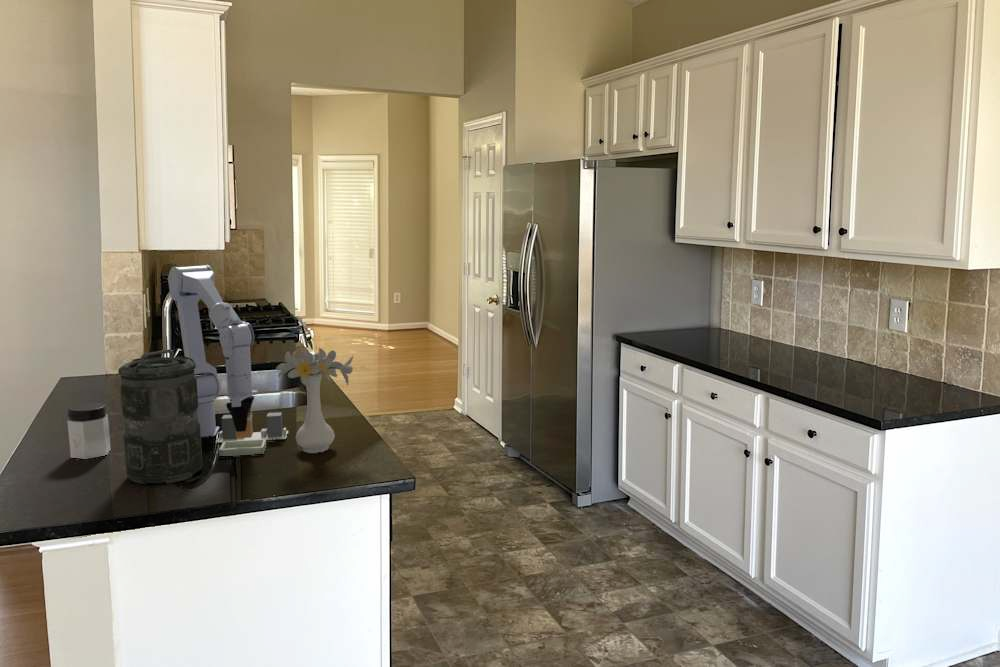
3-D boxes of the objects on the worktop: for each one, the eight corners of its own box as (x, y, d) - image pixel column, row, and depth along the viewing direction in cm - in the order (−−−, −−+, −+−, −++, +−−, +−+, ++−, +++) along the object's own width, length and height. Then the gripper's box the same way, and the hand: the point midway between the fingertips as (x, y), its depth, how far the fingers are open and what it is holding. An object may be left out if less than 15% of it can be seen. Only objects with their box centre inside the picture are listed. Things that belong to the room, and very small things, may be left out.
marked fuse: (235, 438, 196) (234, 416, 195) (237, 434, 200) (236, 412, 199) (251, 437, 197) (250, 415, 196) (253, 433, 200) (252, 411, 199)
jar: (62, 458, 194) (58, 409, 192) (89, 448, 202) (84, 401, 200) (92, 461, 192) (88, 412, 190) (118, 451, 199) (114, 404, 197)
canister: (156, 491, 172) (146, 361, 167) (111, 478, 180) (101, 353, 176) (218, 470, 185) (210, 349, 181) (173, 458, 194) (165, 342, 189)
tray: (219, 457, 195) (218, 449, 194) (224, 448, 202) (223, 441, 201) (263, 454, 196) (263, 447, 196) (266, 445, 203) (266, 439, 203)
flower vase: (362, 450, 199) (359, 350, 195) (286, 462, 191) (281, 357, 187) (346, 437, 211) (342, 341, 206) (274, 447, 202) (269, 348, 198)
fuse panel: (216, 444, 205) (215, 420, 204) (221, 436, 212) (219, 413, 211) (286, 440, 208) (285, 417, 207) (288, 432, 215) (287, 410, 214)
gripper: (252, 379, 189) (255, 436, 192) (259, 367, 203) (262, 420, 206) (220, 381, 188) (224, 437, 190) (230, 368, 202) (233, 421, 205)
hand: (242, 428), depth 198 cm, fingers closed on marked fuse, 3 cm apart
